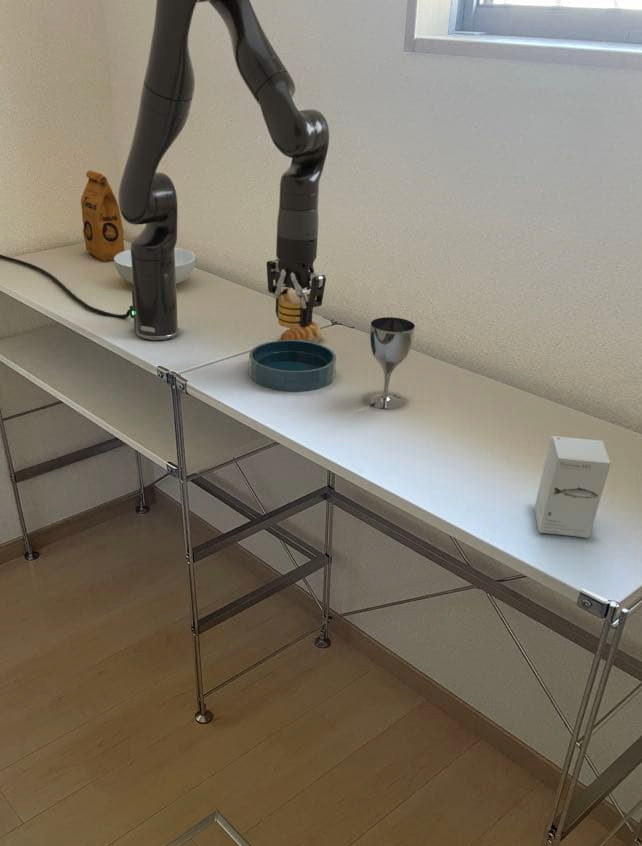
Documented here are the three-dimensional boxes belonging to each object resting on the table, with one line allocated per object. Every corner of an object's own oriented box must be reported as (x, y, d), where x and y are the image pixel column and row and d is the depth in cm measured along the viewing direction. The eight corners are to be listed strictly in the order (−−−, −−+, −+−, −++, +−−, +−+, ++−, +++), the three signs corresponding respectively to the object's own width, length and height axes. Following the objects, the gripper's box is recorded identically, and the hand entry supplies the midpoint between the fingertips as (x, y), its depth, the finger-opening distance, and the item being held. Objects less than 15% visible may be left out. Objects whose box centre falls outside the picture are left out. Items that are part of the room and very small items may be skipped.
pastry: (292, 350, 179) (293, 333, 176) (273, 341, 183) (273, 325, 181) (324, 341, 184) (325, 325, 181) (305, 333, 188) (305, 316, 186)
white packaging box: (537, 534, 120) (556, 457, 113) (533, 508, 126) (550, 433, 119) (590, 540, 119) (612, 462, 112) (583, 513, 125) (603, 438, 118)
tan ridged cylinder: (271, 323, 161) (272, 297, 158) (293, 317, 164) (294, 291, 162) (292, 332, 157) (293, 305, 155) (314, 325, 161) (316, 299, 158)
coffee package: (96, 263, 230) (88, 178, 218) (82, 252, 239) (73, 170, 227) (130, 259, 234) (124, 176, 222) (114, 248, 243) (108, 168, 231)
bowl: (231, 374, 167) (231, 353, 164) (293, 354, 177) (294, 334, 174) (290, 401, 157) (291, 379, 154) (352, 378, 166) (353, 357, 164)
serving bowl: (154, 267, 229) (152, 241, 225) (212, 281, 219) (211, 255, 215) (98, 284, 214) (96, 257, 211) (158, 301, 204) (157, 272, 201)
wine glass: (378, 412, 153) (386, 334, 145) (356, 396, 159) (362, 320, 151) (413, 405, 156) (423, 328, 148) (390, 389, 162) (398, 315, 154)
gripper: (255, 227, 153) (254, 315, 163) (310, 244, 145) (305, 336, 154) (285, 221, 158) (282, 308, 167) (339, 237, 149) (333, 328, 159)
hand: (293, 321), depth 161 cm, fingers closed on tan ridged cylinder, 6 cm apart
